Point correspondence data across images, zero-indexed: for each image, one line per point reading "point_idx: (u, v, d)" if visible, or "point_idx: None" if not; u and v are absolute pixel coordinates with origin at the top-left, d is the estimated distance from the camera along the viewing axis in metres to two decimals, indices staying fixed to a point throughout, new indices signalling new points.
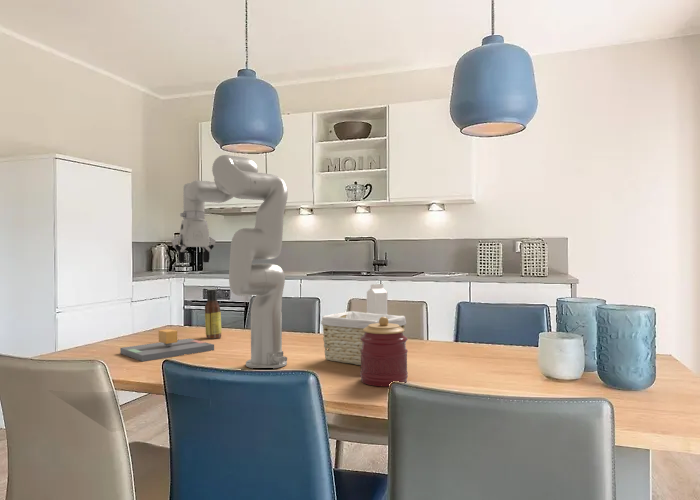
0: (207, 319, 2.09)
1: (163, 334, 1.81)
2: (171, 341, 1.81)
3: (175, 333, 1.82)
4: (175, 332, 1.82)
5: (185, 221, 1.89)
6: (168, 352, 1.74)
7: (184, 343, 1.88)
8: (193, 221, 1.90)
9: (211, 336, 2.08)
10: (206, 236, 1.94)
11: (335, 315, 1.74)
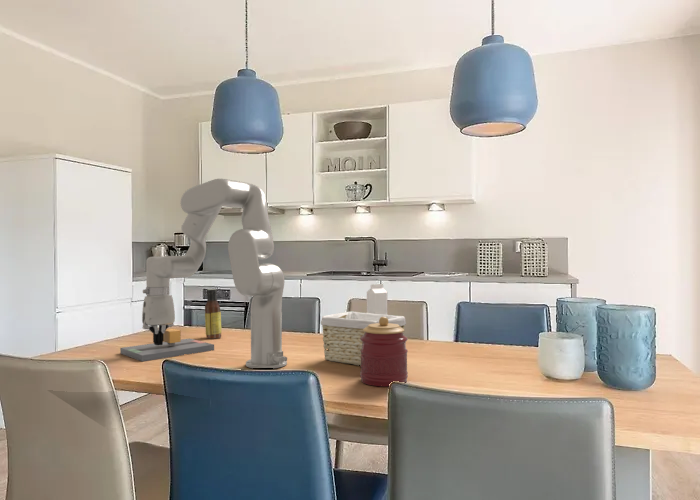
0: (207, 319, 2.09)
1: (166, 333, 1.82)
2: (174, 341, 1.82)
3: (178, 333, 1.83)
4: (178, 332, 1.83)
5: (148, 298, 1.76)
6: (168, 352, 1.74)
7: (184, 343, 1.88)
8: (156, 297, 1.78)
9: (211, 336, 2.08)
10: (171, 312, 1.81)
11: (335, 315, 1.74)
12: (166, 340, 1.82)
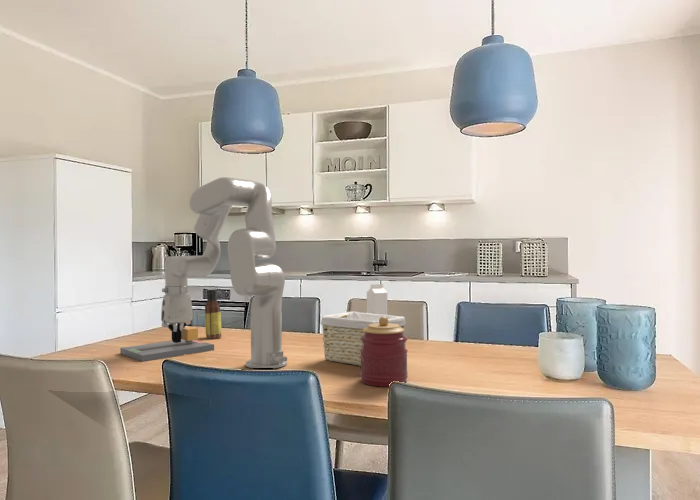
0: (207, 319, 2.09)
1: (184, 331, 1.87)
2: (192, 338, 1.86)
3: (196, 330, 1.87)
4: (196, 329, 1.87)
5: (167, 297, 1.81)
6: (168, 352, 1.74)
7: (184, 343, 1.88)
8: (175, 296, 1.82)
9: (211, 336, 2.08)
10: (189, 311, 1.86)
11: (335, 315, 1.74)
12: (184, 338, 1.87)
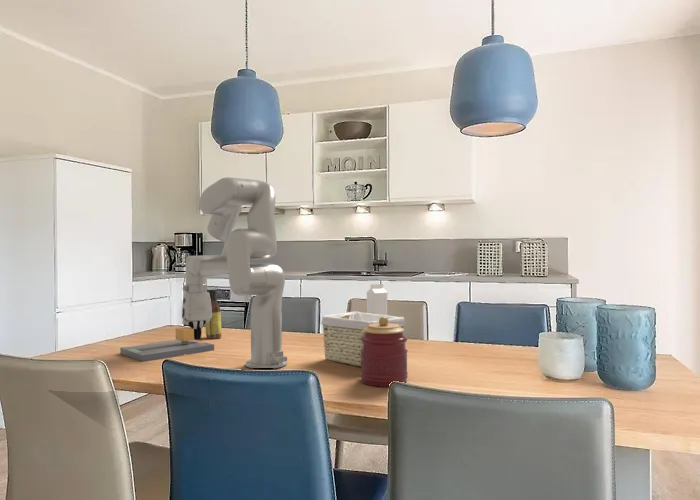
0: None
1: (180, 332, 1.86)
2: (188, 339, 1.85)
3: (192, 331, 1.86)
4: (192, 330, 1.86)
5: (187, 295, 1.87)
6: (168, 352, 1.74)
7: (184, 343, 1.88)
8: (195, 294, 1.88)
9: (211, 336, 2.08)
10: (209, 309, 1.91)
11: (337, 315, 1.74)
12: (180, 338, 1.86)
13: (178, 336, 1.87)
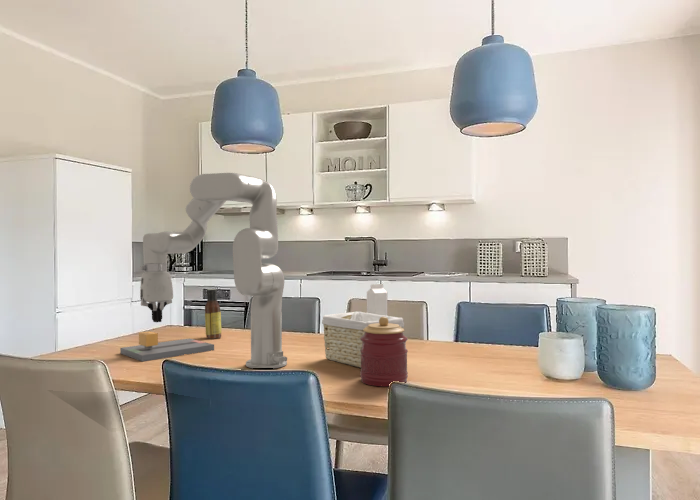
0: (207, 319, 2.09)
1: (143, 336, 1.76)
2: (151, 344, 1.76)
3: (155, 335, 1.77)
4: (155, 334, 1.77)
5: (145, 275, 1.75)
6: (168, 352, 1.74)
7: (184, 343, 1.88)
8: (154, 274, 1.77)
9: (211, 336, 2.08)
10: (169, 289, 1.80)
11: (338, 315, 1.75)
12: (143, 343, 1.76)
13: (141, 341, 1.77)
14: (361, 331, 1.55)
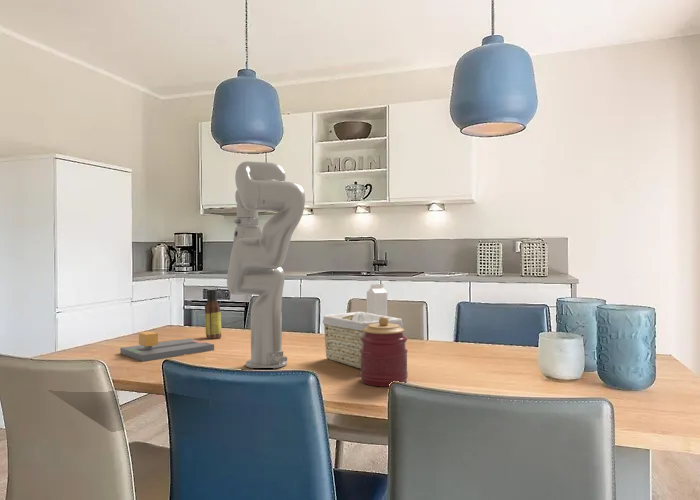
0: (207, 319, 2.09)
1: (143, 336, 1.76)
2: (151, 344, 1.76)
3: (155, 335, 1.77)
4: (155, 334, 1.77)
5: (239, 228, 1.82)
6: (168, 352, 1.74)
7: (184, 343, 1.88)
8: (247, 227, 1.83)
9: (211, 336, 2.08)
10: None
11: (340, 315, 1.75)
12: (143, 343, 1.76)
13: (141, 341, 1.77)
14: (357, 331, 1.55)
